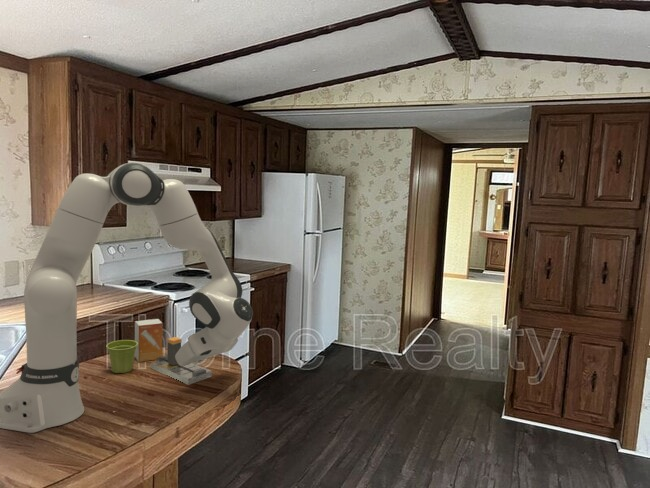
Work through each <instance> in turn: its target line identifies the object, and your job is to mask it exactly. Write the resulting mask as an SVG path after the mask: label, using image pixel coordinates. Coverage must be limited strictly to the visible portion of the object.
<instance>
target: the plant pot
mask: <svg viewBox="0 0 650 488" xmlns="http://www.w3.org/2000/svg"><path fill="white" fill-rule="evenodd" d="M137 345H138V343H137V342H136V341H135V340H132V339H120V340H114V341H110V342H109V343H107V344H106V346H105V347H106V349H107V351H108V354H109V360H110V366H111V372H112V373H115V374H119V373H121V374H125V373H129V372H131V371H132V370H133V366H134V359H135V350H136V346H137Z"/></svg>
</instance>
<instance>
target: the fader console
mask: <svg viewBox="0 0 650 488" xmlns="http://www.w3.org/2000/svg"><path fill="white" fill-rule="evenodd" d="M150 370H153V371H155V372H157V373H160V374H162V375H165V376H167V375H168V376H167V377H169V376H170V377H169V378H171V377H172V379H173V378H174V380H176V379H177V380H176V381H178V380H179V381H178V382H180V381H181V382H180V383H182V382H183V384H184V385H187V386H189V385H192V384H195V383H197V382H201V381H203V380H207V379H209V378H211V377H212V375H213V373H212V372H213V371H212V370H211V369H208V368H206V367H203V366H202V365H201V366H200V365H198V364H195V365H194V364H193V363H190V364H187V365H184V366H179V364H176V365H171V364H168V354H164V355H162V356H161V357H157V359H156V360H153V361H151V362H150Z"/></svg>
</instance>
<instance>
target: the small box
mask: <svg viewBox="0 0 650 488" xmlns="http://www.w3.org/2000/svg"><path fill="white" fill-rule="evenodd" d="M163 325H164V324H163V322H162V321H161V320H160V318H152V319H144V320H136V321H134V341H136V342H137V343H138V345H137V346H136V350H135V354H134V359H136V360H137V362H138V363H143V362H147V361H157V357H161V356H163Z"/></svg>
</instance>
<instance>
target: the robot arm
mask: <svg viewBox="0 0 650 488" xmlns="http://www.w3.org/2000/svg"><path fill="white" fill-rule="evenodd" d="M120 203H121V204H123V205H126V206H134V207H135V206H137V207H138V206H139V207H140V206H148V207H149V208H150V209H151V210H152V212H153V214H154V215H155V218H156V221H157V224H158V227H159V229H160V230H159V231H160V232H161V235H162V237H163V238H164V240H165V242H166V243H167V244H169V245H170V247H173V248H176V249H178V250H194V251H196V252H198V253H199V254H200V255H201V256H202V259H203V260H204V261H203V262H204V263H205V265H206V267H207V269H208V271H209V272H210V274H211V279H210V281H209V282H208V283H206V284H205V285H203V286H202V287H200V288H199V289H198V290H196V291H195V292H193V293H192V294H191V295H190V297H189V299H188V300H189V301H188V305H189V306H188V308H189V311H190V313H191V314H192V316H193V317H194V318H195V319H196V320H197V321H198V322H199V323H201V324H202V325H204V326H205V327H204V328H202V329H200V330H199V331H197V332H194V333H192V334H190V335H189V336H188V337H187V341H186V342H185V343H184V344H182V345H181V348H180V349H179V350H178V352H177V353H176V355H175V358H176V361H177V363H178V364H179V366H184V365H187V364H190V363H193V364H194V365H195V364H196V365H198V364H201V363H203V362H204V361H205V360H207V359H208V358H212V357H215V356H218V355H221V354H224V353H227V352H230V351H231V350H232V349H234V347H235V346H236V345H237V343H238V341H239V339H238V338H240V336H241V335H242V333H244V332H245V330H246V329H247V328H248V326H250V323H251V322H252V319H253V315H254V313H253V312H254V311H253V307H252V305H251V304H250V303H249V302H248V300H246V299H245V298H244V297H243V298H242V296H243V287H242V284H241V282H240V279H239V278H238V277H237V275H236V274H235V273H234V271H233V270H232V268H231V267H230V264H229V263H228V261H227V258H226V256H225V254H224V252H223V250H222V248H221V246H220V244H219V242H218V240H217V238H216V237H215V235H214V233H213V232H212V231H211V230H210V229H209V228H207V227H206V226H205V224H204V222H203V221H202V219H201V217H200V215H199V212H198V209H197V206H196V204H195V203H194V200H193V198H192V196H191V195H190V192H189V190H188V189H187V187H186V185H185V184H184V183H183V181H181V180H178V179H174V178H168V179H164V180H163V179H162V178H160V176H159V175H157V174H156V173H155V172H154V171H153V170H152V169H151V168H149V167H147V166H145V165H143V164H141V163H137V162H127V163H123V164H121V165H118V166H117V167H116V168H114V169H112V171H110V172H109V173H107V174H106V175H104V176H100V175H97V174H94V173H87V172H86V173H79V174H78V175H77V176H76V177H74V179H73V180H72V182H71V183H70V184H69V186H68V187H67V189H66V191H65V193H64V195H63V196H62V198H61V200H60V202H59V205H58V207H57V209H56V211H55V213H54V215H53V217H52V221H51V223H50V225H49V228H48V230H47V233H46V234H45V237H44V239H43V241H42V244H41V246H40V248H39V250H38V252H37V255H36V257H35V259H34V262H33V263H32V265H31V268H30V271H29V273H28V275H27V278H26V282H25V286H24V289H23V290H24V291H23V302H24V304H23V305H24V318H25V320H24V321H25V323H24V324H25V334H26V335H25V337H26V338H25V340H26V342H25V343H26V362H25V363H24V364H22V365H21V367H19V368H17V369H15V371H16V373H15V374H16V375H17V374H20V373H21V374H20V377H19V378H18V379H16V380H14V382H13V383H11V384H10V385H8V386H7V387H6V388H5V389H3V390H2V391H1V392H0V429H4V430H10V431H17V432H23V433H28V434H33V433H37V432H41V431H43V430H45V429H49V428H53V427H57V426H61V425H65V424H67V423H70V422H73V421H75V420H77V419H78V418H79V417H81V416H82V415H83V414H84V412H85V407H84V404H83V400H82V397H81V393H80V387H79V386H80V385H79V378H80V362H79V361H80V360H79V358H78V354H77V351H78V349H77V348H78V347H77V323H78V322H77V321H78V320H77V318H78V287H77V283H78V280H79V278H80V276H81V273H82V271H83V269H84V267H85V265H86V264H87V261H88V259H89V258H90V256H91V254H92V252H93V250H94V248H95V245H96V242H97V241H98V238H99V236H100V233H101V231H102V228H103V226H104V223H105V221H106V218H107V216H108V213H109V212H110V210H111V209H112V208H113V206H115V205H116V204H120Z"/></svg>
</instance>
